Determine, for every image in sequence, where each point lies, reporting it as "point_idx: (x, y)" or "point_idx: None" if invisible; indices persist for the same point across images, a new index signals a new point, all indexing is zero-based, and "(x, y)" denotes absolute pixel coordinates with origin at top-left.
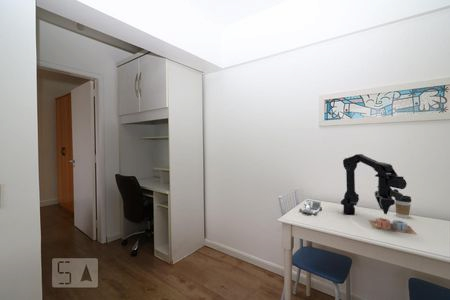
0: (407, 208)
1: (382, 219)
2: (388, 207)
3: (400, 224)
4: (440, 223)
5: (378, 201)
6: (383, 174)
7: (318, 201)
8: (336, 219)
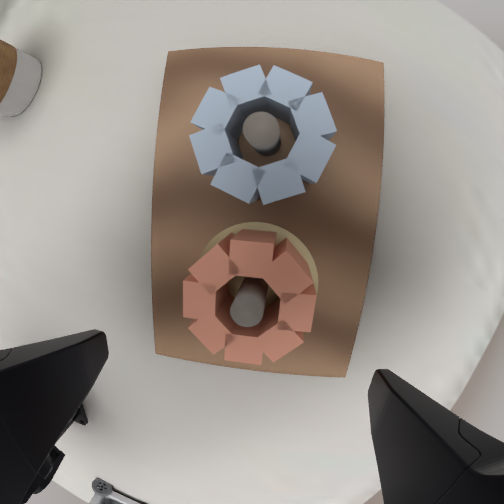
0: None
1: (259, 321)
2: (486, 450)
3: (332, 151)
4: None
5: (39, 451)
6: None
7: None
8: (199, 480)
